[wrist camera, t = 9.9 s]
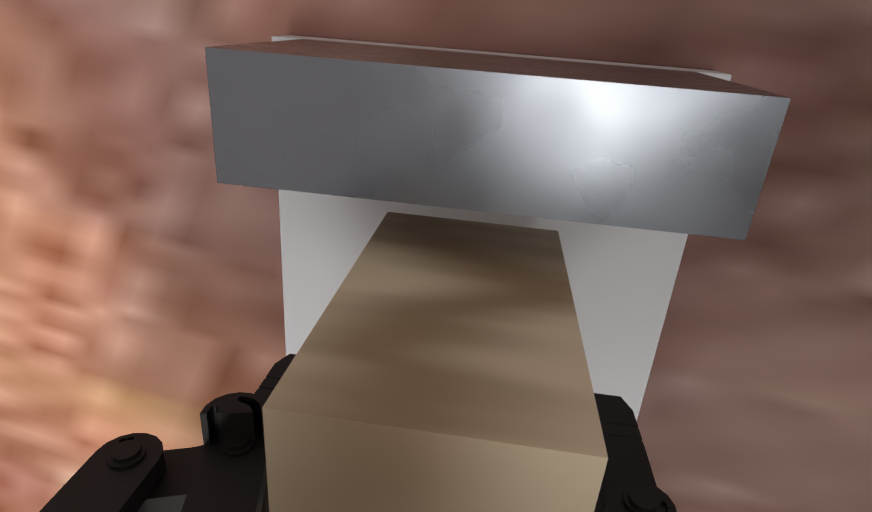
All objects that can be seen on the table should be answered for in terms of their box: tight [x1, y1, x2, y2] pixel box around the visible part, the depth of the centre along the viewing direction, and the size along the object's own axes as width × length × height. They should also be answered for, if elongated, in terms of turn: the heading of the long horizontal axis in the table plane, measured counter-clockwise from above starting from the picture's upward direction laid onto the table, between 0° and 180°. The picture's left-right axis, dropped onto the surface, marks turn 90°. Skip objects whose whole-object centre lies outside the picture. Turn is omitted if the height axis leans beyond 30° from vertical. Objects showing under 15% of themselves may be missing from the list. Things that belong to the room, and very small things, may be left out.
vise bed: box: [205, 35, 791, 422], centre depth 21 cm, size 14×30×8 cm, turn 176°
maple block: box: [262, 212, 608, 512], centre depth 13 cm, size 5×7×9 cm
